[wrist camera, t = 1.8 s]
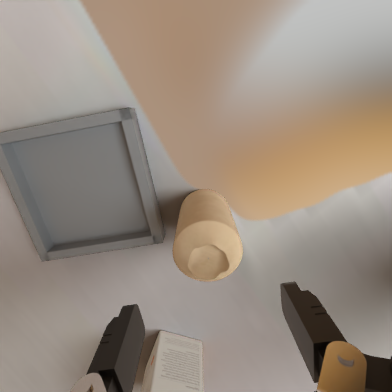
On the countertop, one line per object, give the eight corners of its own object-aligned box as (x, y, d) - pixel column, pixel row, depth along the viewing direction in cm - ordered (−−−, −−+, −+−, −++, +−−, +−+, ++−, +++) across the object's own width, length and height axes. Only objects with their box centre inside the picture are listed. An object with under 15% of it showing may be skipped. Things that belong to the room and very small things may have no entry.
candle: (188, 182, 25) (182, 219, 16) (236, 196, 26) (258, 241, 16) (174, 225, 27) (161, 283, 18) (219, 238, 28) (231, 302, 18)
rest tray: (134, 108, 23) (129, 107, 21) (165, 234, 27) (162, 242, 25) (2, 134, 24) (-15, 135, 22) (52, 251, 28) (41, 261, 26)
